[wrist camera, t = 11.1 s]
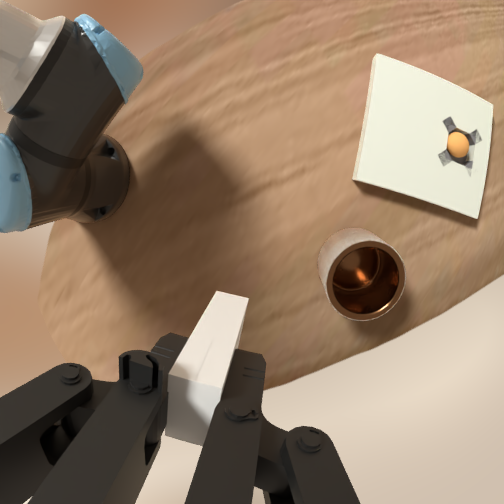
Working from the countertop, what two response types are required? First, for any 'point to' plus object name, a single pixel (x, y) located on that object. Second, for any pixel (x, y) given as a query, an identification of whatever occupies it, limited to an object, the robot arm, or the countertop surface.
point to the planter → (361, 274)
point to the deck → (423, 137)
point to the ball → (457, 144)
